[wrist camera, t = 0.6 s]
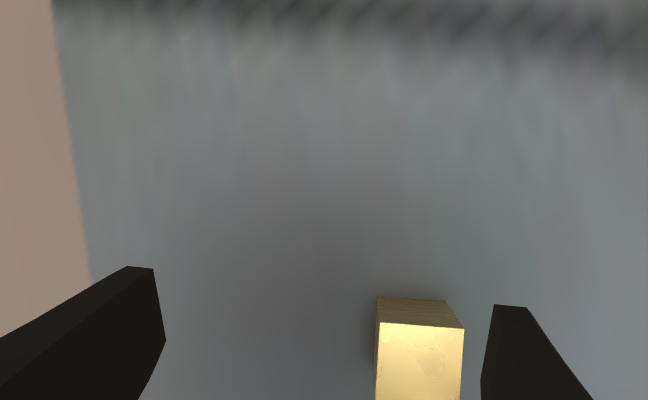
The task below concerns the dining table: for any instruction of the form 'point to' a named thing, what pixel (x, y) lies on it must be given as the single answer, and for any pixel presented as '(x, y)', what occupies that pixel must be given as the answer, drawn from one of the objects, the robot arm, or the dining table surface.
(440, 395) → the brass block
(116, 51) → the dining table surface
